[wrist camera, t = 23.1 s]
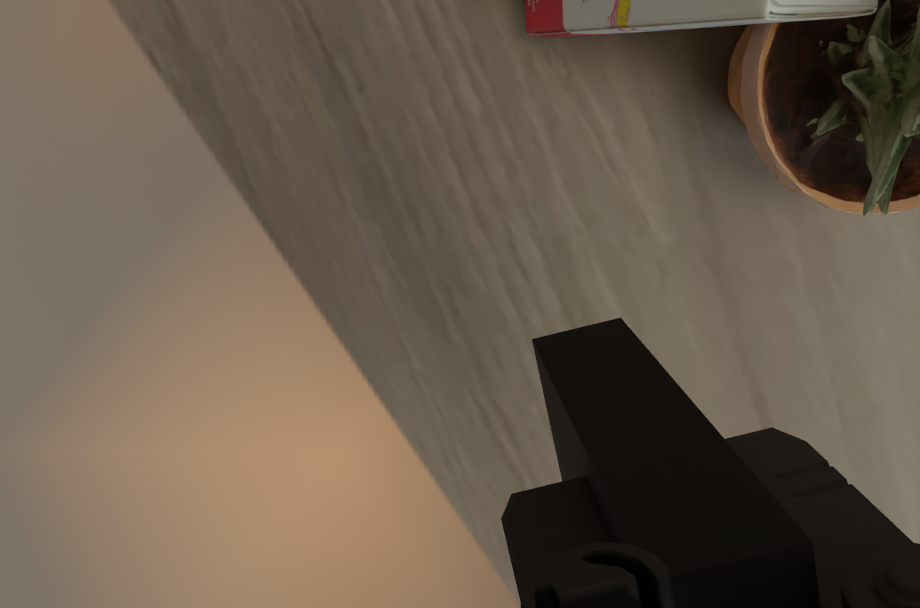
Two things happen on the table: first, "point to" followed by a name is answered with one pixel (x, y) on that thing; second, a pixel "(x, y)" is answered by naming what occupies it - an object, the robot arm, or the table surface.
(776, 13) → the ink box
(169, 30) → the table surface
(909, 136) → the potted plant
